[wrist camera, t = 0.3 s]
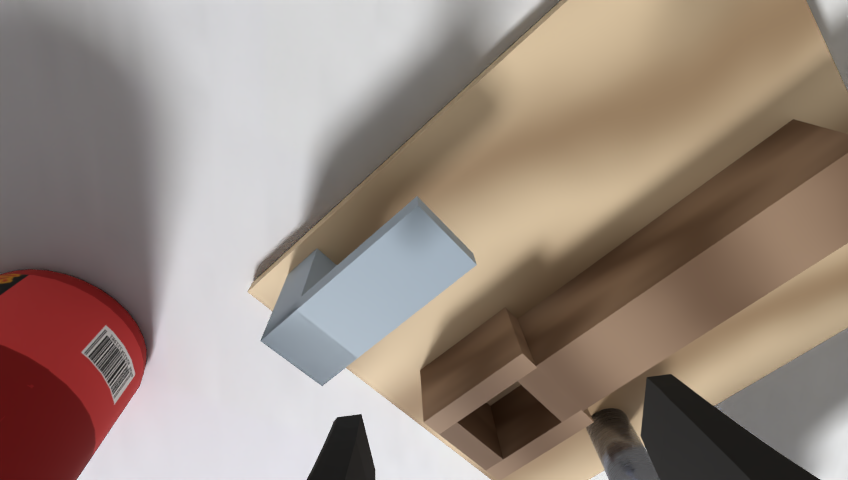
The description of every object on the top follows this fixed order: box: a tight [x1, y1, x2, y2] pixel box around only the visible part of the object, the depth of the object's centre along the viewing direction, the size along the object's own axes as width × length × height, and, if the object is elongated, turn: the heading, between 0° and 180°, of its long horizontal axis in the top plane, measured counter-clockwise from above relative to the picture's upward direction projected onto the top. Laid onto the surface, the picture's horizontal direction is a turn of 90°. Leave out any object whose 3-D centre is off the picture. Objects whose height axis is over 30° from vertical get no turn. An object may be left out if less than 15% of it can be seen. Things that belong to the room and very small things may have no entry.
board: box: [248, 0, 848, 480], centre depth 21 cm, size 21×23×1 cm
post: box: [586, 408, 660, 480], centre depth 23 cm, size 2×2×4 cm
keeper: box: [261, 196, 477, 386], centre depth 18 cm, size 3×7×4 cm, turn 132°
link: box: [420, 119, 848, 480], centre depth 20 cm, size 19×5×3 cm, turn 132°
